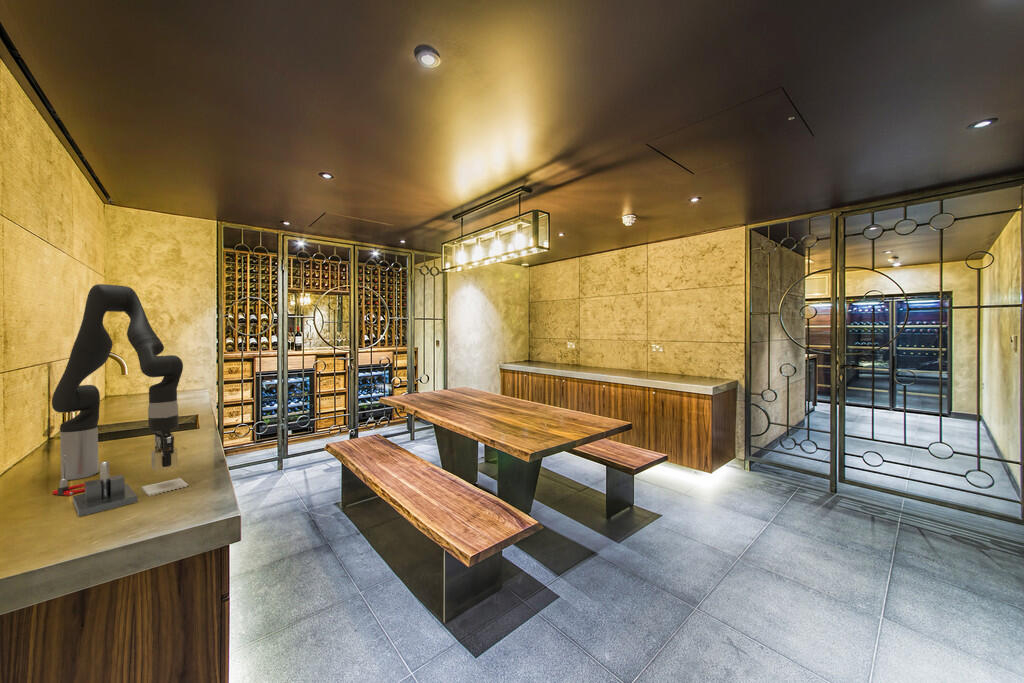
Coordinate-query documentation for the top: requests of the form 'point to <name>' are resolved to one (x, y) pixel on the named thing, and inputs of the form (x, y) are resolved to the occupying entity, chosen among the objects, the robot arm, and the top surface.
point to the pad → (164, 486)
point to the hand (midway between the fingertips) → (164, 464)
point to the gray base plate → (104, 493)
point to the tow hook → (66, 482)
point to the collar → (157, 459)
